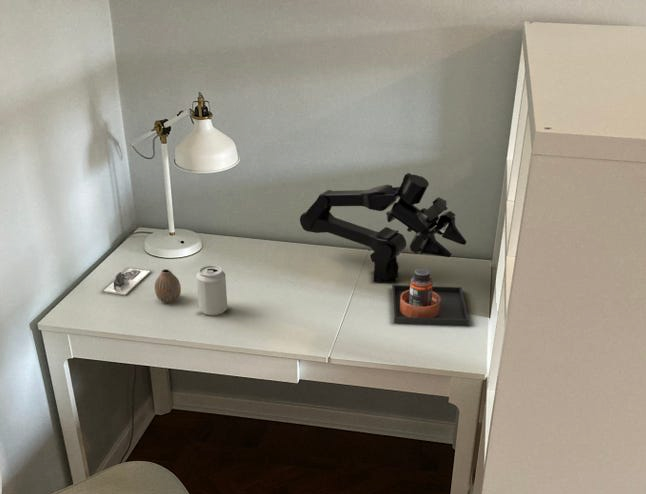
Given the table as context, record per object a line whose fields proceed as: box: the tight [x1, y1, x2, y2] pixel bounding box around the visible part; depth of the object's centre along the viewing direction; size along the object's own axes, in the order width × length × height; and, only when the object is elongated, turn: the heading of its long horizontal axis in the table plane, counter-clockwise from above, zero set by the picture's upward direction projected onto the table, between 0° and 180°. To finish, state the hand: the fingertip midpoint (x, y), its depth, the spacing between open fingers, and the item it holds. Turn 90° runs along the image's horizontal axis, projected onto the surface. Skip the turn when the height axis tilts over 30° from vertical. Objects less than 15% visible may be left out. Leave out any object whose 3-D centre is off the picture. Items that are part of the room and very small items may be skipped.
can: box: [196, 264, 228, 317], centre depth 208 cm, size 8×8×12 cm
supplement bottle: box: [409, 268, 434, 307], centre depth 210 cm, size 6×6×11 cm
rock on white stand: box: [103, 267, 151, 296], centre depth 223 cm, size 15×7×4 cm, turn 165°
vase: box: [154, 268, 182, 304], centre depth 213 cm, size 7×7×9 cm
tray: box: [391, 284, 470, 327], centre depth 215 cm, size 19×19×2 cm
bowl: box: [400, 290, 441, 318], centre depth 212 cm, size 11×11×4 cm
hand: (458, 249), depth 212 cm, fingers open, 9 cm apart
